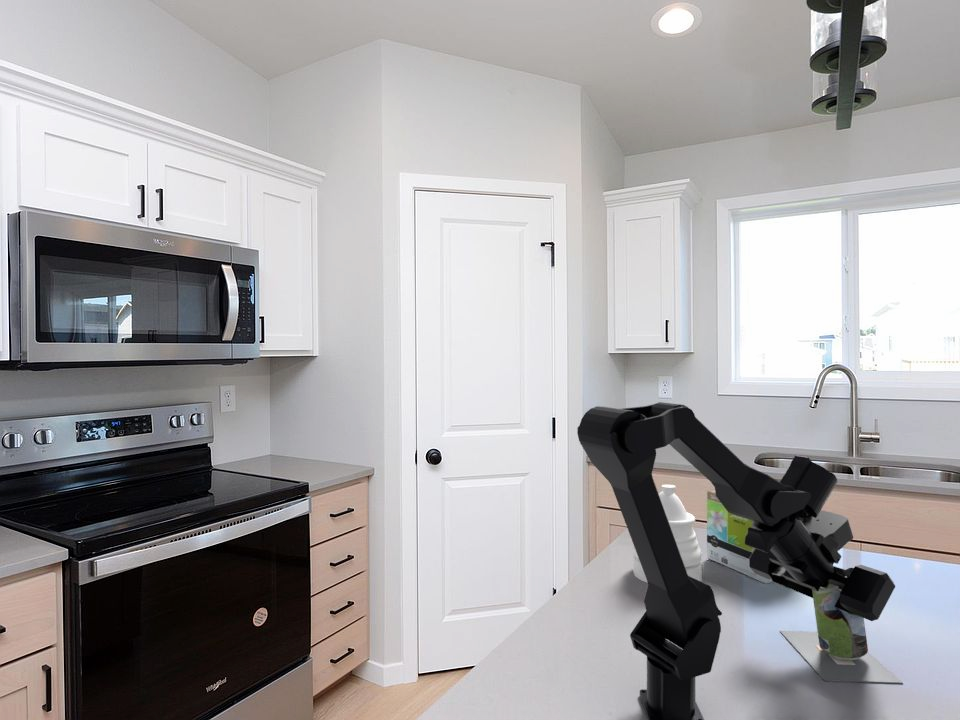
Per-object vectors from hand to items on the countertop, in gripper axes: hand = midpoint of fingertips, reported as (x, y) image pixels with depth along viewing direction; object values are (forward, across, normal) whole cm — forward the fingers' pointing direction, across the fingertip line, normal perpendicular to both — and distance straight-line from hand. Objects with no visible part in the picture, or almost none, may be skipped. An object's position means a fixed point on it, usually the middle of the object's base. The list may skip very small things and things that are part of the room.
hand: (841, 606), depth 87 cm
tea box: (+17, +30, -6) cm, 35 cm away
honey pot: (+4, +34, +6) cm, 35 cm away
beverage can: (+4, 0, +6) cm, 7 cm away
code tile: (+4, 0, +6) cm, 7 cm away
